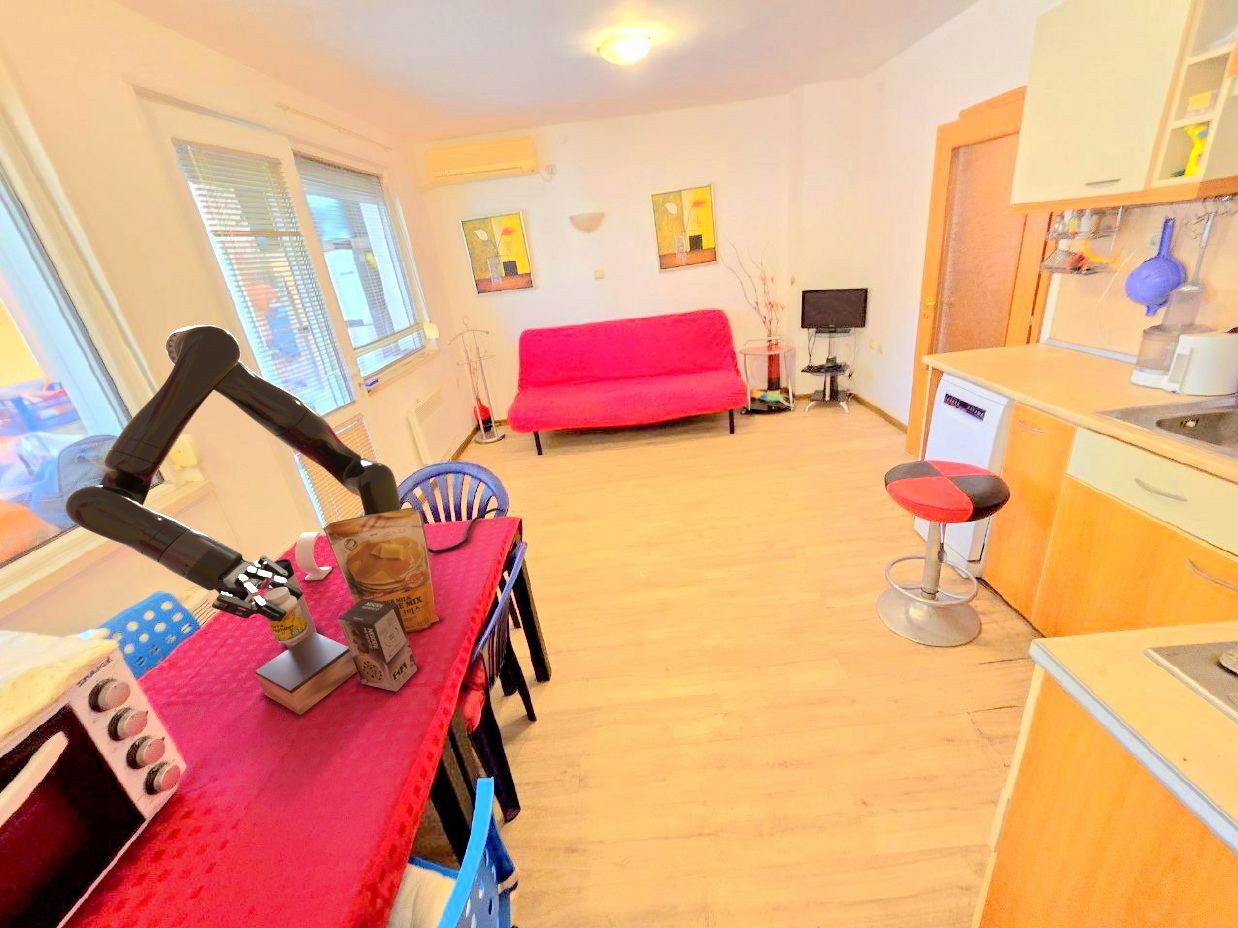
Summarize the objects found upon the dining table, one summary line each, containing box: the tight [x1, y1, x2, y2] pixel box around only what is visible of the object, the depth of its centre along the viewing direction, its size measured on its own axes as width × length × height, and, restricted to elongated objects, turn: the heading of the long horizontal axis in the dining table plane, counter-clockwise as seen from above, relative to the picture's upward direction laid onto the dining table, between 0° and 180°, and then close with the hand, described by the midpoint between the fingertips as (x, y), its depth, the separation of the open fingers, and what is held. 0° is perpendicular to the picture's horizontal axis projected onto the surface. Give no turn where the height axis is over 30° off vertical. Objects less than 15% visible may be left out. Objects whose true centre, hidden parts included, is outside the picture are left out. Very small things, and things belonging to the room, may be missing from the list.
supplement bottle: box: [262, 587, 308, 644], centre depth 95 cm, size 5×5×10 cm
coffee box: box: [337, 599, 418, 693], centre depth 98 cm, size 9×6×16 cm
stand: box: [254, 632, 358, 716], centre depth 100 cm, size 12×12×6 cm
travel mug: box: [262, 558, 318, 649], centre depth 110 cm, size 6×7×20 cm
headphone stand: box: [294, 531, 333, 581], centre depth 137 cm, size 5×6×12 cm
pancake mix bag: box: [322, 507, 440, 633], centre depth 110 cm, size 7×19×28 cm, turn 102°
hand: (291, 606), depth 94 cm, fingers closed on supplement bottle, 5 cm apart
